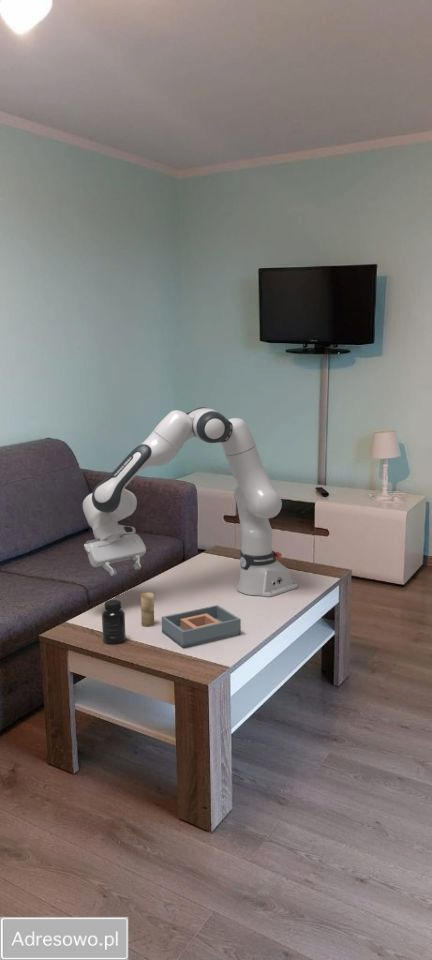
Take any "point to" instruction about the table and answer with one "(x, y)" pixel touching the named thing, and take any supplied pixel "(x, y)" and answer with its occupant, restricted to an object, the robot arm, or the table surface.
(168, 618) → the open-top box
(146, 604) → the beech peg
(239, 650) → the table surface
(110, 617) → the supplement bottle
